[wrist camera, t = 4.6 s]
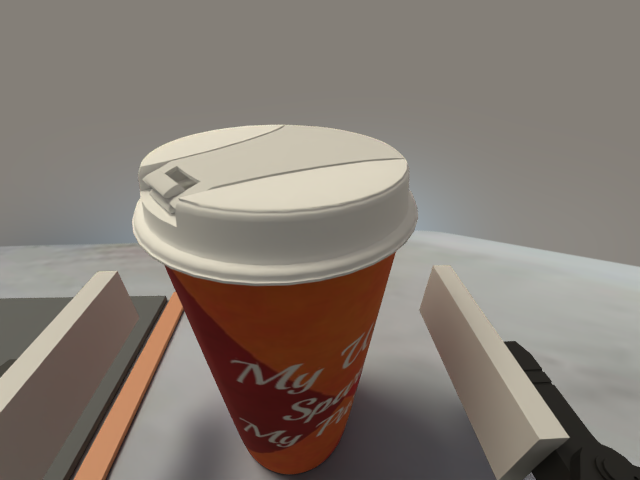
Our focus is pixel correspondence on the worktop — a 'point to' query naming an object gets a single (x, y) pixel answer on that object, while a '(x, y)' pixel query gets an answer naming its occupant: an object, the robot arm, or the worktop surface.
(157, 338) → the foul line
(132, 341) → the mat
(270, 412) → the paper cup
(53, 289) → the worktop surface
